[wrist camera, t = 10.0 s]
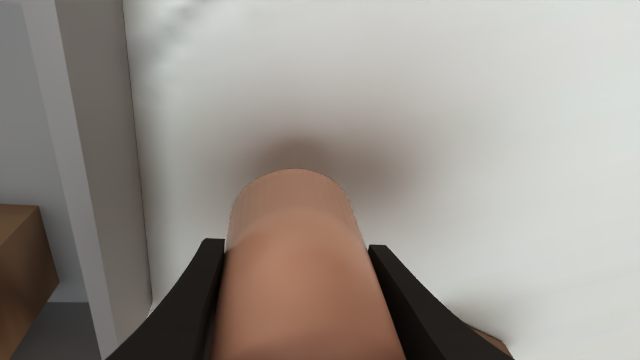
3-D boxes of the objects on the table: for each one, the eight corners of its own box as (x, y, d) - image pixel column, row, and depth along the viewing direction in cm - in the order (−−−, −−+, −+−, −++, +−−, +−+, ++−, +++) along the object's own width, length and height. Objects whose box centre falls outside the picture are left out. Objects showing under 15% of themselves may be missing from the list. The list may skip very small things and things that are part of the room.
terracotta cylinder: (340, 269, 16) (382, 442, 10) (227, 266, 15) (201, 454, 9) (364, 174, 14) (436, 328, 8) (232, 163, 13) (203, 327, 7)
